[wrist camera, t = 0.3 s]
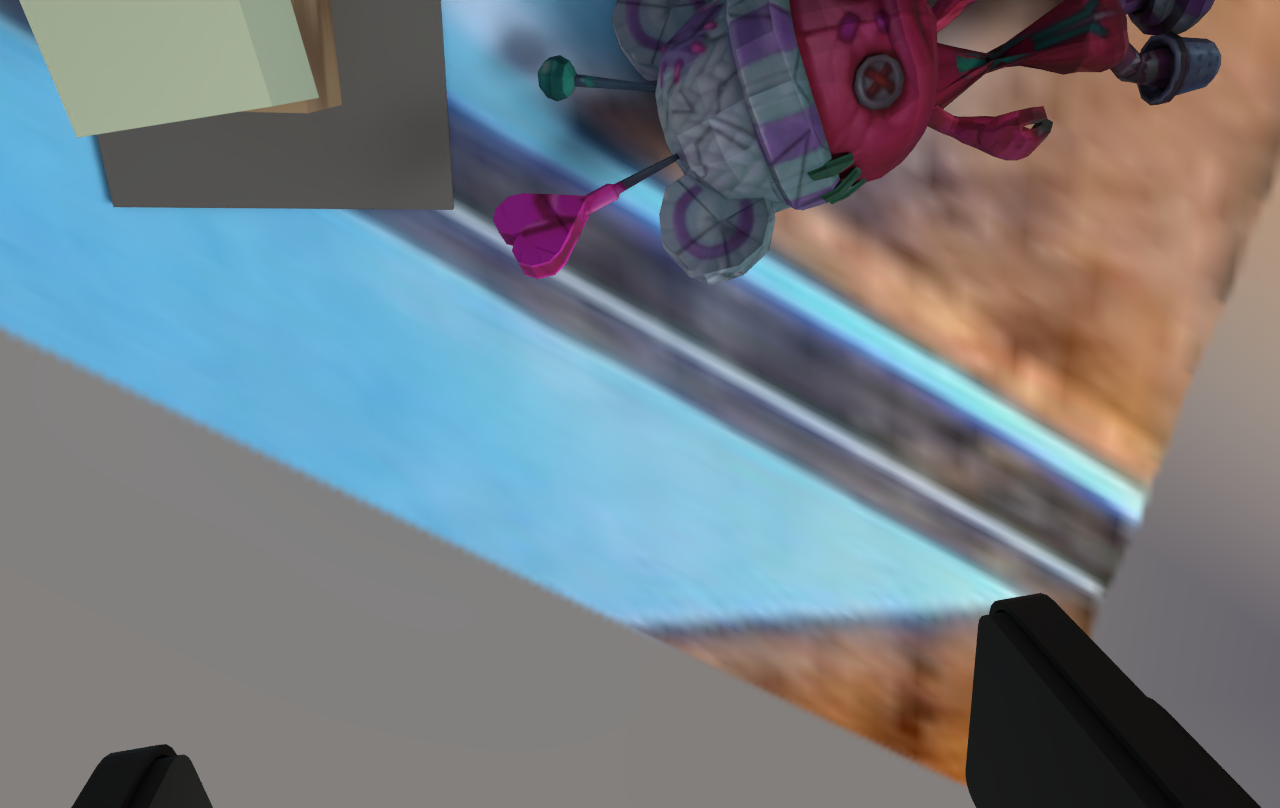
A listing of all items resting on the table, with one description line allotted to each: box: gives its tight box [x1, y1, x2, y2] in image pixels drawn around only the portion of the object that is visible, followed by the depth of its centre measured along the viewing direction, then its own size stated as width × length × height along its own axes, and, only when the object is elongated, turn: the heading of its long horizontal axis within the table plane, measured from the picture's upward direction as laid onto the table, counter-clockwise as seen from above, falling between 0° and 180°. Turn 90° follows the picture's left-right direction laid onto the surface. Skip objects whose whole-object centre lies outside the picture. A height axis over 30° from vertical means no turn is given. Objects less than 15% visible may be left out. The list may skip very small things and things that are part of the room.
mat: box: [97, 0, 454, 210], centre depth 32 cm, size 14×14×1 cm
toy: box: [493, 0, 1221, 284], centre depth 31 cm, size 16×9×30 cm
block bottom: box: [240, 0, 342, 113], centre depth 29 cm, size 6×6×6 cm
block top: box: [19, 0, 319, 138], centre depth 24 cm, size 6×6×6 cm
